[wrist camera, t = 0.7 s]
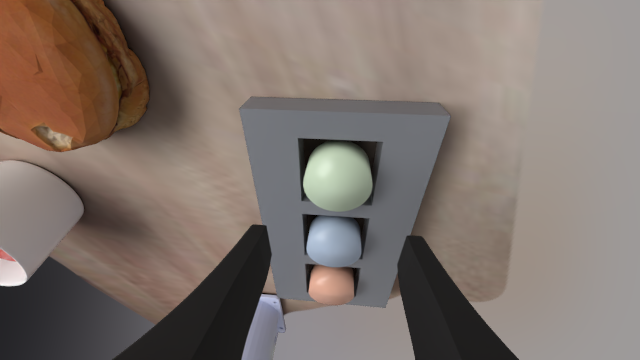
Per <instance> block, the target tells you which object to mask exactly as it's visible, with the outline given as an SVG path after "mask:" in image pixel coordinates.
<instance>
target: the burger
mask: <svg viewBox="0 0 640 360" xmlns="http://www.w3.org/2000/svg"><path fill="white" fill-rule="evenodd" d="M148 101H149V86H148V81H147V77H146V73H145V70H144V68H143V67H142V65H141V62H140V60H139V59H138V57H137V56H136V55H135V54H134V52H133V51H131V50H130V49H128V48H127V42H126V40H125V36H123V34H122V31H121V29H120V26H119V25H118V22H117V20H116V18H115V17H114V15H113V14H112V12H111V11H110V10H109V9H108V8H107V7H105V5H104V2H103V0H0V132H1V133H4V134H6V135H9V136H12V137H14V138H17V139H22V140H24V141H26V142H29V143H31V144H33V145H36V146H38V147H40V148H43V149H45V150H48V151H55V152H64V151H70V150H74V149H78V148H81V147H84V146H89V145H93V144H96V143H98V142H100V141H102V140H104V139H107V138H109V137H110V136H111V135H112V134H113V133H114V132H116V131H117V130H120V129H123V128H127V127H130V126H132V125H134V124H136V123H137V122H138V121H139V120H140V118H141V116H143V115H144V113H145V111H146V110H147V107H146V104H147V103H148Z"/></svg>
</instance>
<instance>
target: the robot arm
mask: <svg viewBox="0 0 640 360" xmlns="http://www.w3.org/2000/svg"><path fill="white" fill-rule="evenodd" d="M271 257H272V252H271V247H270V242H269V236H268V231H267V226H266V225H252V226H250V228H249V229H248V230H247V231H246V233H245V234H244V235H243V236H242V238H241V239H240V240H239V241H238V243H237V244H236V245H235V246H234V247H233V249H232V250H231V251H230V252H229V253H228V254H227V256H226V257H225V258H224V259H223V260H222V261H221V262H220V263H219V265H218V266H217V267H216V268H215V269H214V270H213V271H212V272H211V273H210V274H209V275H208V276H207V277H206V278H205V279H204V281H203V282H202V283H201V284H200V285H199V286H198V287H197V288H196V289H195V290H194V291H193V292H192V293H191V294H190V295H189V296H188V297H187V298H185V299H184V300H183V301H182V302H181V303H180V304H179V305H178V306H177V307H176V308H175V309H174V310H172V311H171V312H170V313H169V314H168V315H167V316H166V317H164V318H163V319H162V320H161V321H160V322H159V323H157V324H156V325H155V326H154V327H153V328H152V329H151V330H149V331H148V332H147V333H146V334H145V335H143V336H142V337H141V338H139V339H138V340H137V341H136V342H134V343H133V344H132V345H131V346H129V347H128V348H127V349H125V350H124V351H123V352H121V353H120V354H119V355H118V356H116V357H115V358H114V359H112V360H272V359H273V355H274V350H275V345H276V340H277V335H278V332H281V333H284V332H285V330H286V327H285V322H284V316H283V311H282V306H281V301H280V298H278V297H277V295H268V294H262V291H263V288H264V285H265V282H266V279H267V275H268V271H269V267H270V262H271ZM397 268H398V278H399V286H400V292H401V297H402V301H403V305H404V310H405V314H406V318H407V323H408V327H409V332H410V336H411V341H412V345H413V350H414V355H415V360H519V359H518V358H517V357H516V356H515V355H514V354H513V353H512V352H511V351H510V350H509V348H508V347H507V346H506V345H505V344H504V343H503V342H502V341H501V339H500V338H499V337H498V336H497V335H496V334H495V333H494V332H493V331H492V330H491V328H490V327H489V326H488V325H487V324H486V322H485V321H484V320H483V319H482V318H481V316H480V315H479V314H478V313H477V312H476V310H474V308H473V307H472V305H471V304H470V303H469V302H468V300H467V299H466V298H465V296H464V295H463V294H462V293H461V291H460V290H459V289H458V287H457V286H456V285H455V283H454V282H453V280H452V279H451V278H450V276H449V275H448V274H447V272H446V271H445V269H444V268H443V267H442V265H441V264H440V262H439V261H438V259H437V258H436V256H435V255H434V253H433V252H432V250H431V249H430V247H429V246H428V244H427V243H426V241H425V240H424V238H423V237H422V236H409V235H407V236H406V239H405V242H404V245H403V248H402V251H401V254H400V257H399V260H398V263H397Z"/></svg>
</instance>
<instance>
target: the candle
mask: <svg viewBox="0 0 640 360" xmlns="http://www.w3.org/2000/svg"><path fill="white" fill-rule="evenodd" d="M83 213H84V206H83V203H82V201H81V199H80V197H79V196H78V195H77V193H76V192H75V191H74V190H73V189H72V188H71V187H70V186H69V185H68V184H66V183H65V182H64V181H63V180H61V179H60V178H58V177H57V176H55V175H54V174H52V173H50V172H48V171H47V170H45V169H42V168H40V167H38V166H35V165H33V164H30V163H26V162H22V161H16V160H6V161H0V285H1V286H16V285H21V284H23V283H25V282H26V281H27V280H28V279H29V278H30V277H31V275H32V274H33V273H34V272H35V271H36V270H37V269H38V267H39V266H40V265H41V264H42V263H43V262H44V260H45V259H46V258H47V257H48V256H49V255H50V254H51V252H52V251H53V250H54V249H55V248H56V247H57V245H58V244H59V243H60V242H61V241H62V240H63V238H64V237H65V236H66V235H67V234H68V233H69V232H70V230H71V229H72V228H73V227H74V226H75V224H76V223H77V222H78V221H79V220H80V218H81V217H82V215H83Z"/></svg>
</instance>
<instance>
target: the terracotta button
mask: <svg viewBox="0 0 640 360" xmlns="http://www.w3.org/2000/svg"><path fill="white" fill-rule="evenodd" d="M309 295H310V296H311V298H313V299H314V300H315V301H317V302H319V303H322V304H327V305H342V304H346V303H348V302H350V301H351V300H352V299H353V298H354V273H353V270H352V269H351V268H350V267H327V266H323V265H316V264H315V265H314V266H313V268H312V270H311V277H310V285H309Z"/></svg>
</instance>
